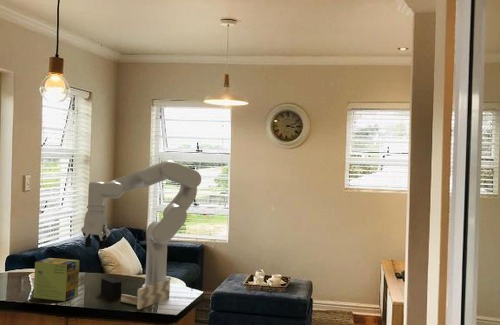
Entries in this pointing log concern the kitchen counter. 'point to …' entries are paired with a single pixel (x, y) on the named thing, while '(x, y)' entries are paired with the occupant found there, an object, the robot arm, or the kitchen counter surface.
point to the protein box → (56, 279)
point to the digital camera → (111, 287)
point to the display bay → (149, 294)
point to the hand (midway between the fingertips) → (94, 247)
